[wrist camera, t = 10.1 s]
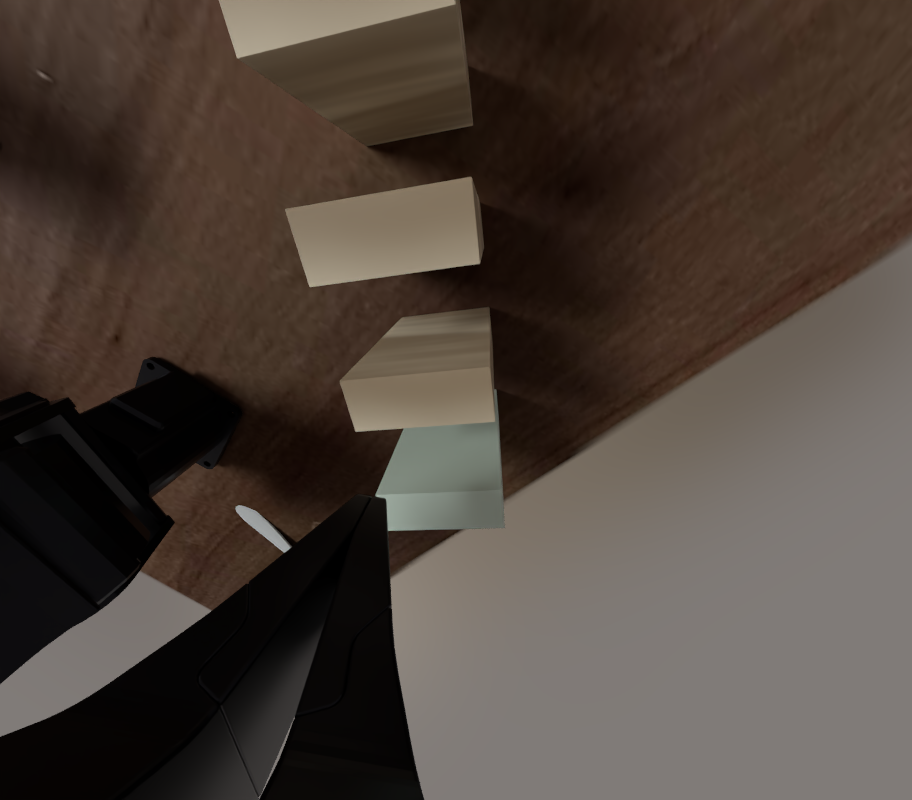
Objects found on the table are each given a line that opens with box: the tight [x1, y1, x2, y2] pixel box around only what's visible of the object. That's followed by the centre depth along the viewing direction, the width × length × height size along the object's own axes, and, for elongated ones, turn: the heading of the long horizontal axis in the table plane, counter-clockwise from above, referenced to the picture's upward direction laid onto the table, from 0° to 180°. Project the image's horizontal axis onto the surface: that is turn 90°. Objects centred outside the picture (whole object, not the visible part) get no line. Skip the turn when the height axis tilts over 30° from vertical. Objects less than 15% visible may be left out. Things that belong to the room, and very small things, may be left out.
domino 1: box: [219, 0, 473, 146], centre depth 11 cm, size 2×5×9 cm, turn 98°
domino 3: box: [340, 307, 495, 432], centre depth 15 cm, size 2×5×9 cm, turn 98°
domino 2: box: [285, 177, 484, 287], centre depth 13 cm, size 2×5×9 cm, turn 98°
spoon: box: [235, 505, 292, 553], centre depth 29 cm, size 4×21×2 cm, turn 41°
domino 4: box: [375, 389, 505, 531], centre depth 17 cm, size 2×5×9 cm, turn 98°
